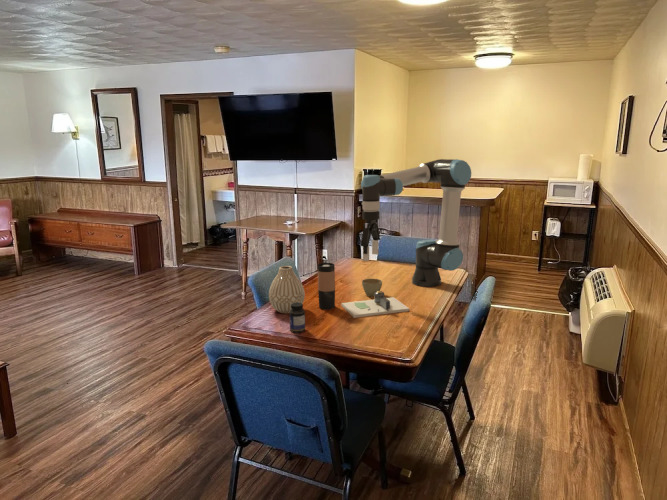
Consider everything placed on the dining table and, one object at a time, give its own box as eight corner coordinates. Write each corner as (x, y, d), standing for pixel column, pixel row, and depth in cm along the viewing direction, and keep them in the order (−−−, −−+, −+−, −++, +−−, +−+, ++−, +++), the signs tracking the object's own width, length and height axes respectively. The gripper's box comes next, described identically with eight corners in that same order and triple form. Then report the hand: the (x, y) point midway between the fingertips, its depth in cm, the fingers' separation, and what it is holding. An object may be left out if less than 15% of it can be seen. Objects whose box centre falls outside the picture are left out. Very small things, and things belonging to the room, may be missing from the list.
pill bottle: (290, 327, 196) (289, 302, 194) (305, 327, 197) (304, 301, 194) (290, 333, 190) (289, 307, 188) (305, 333, 191) (304, 306, 188)
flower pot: (381, 298, 231) (381, 284, 230) (360, 297, 233) (360, 283, 232) (383, 292, 241) (383, 278, 239) (363, 291, 243) (363, 277, 241)
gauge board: (393, 299, 230) (393, 296, 229) (409, 311, 214) (409, 307, 213) (341, 305, 222) (341, 302, 222) (353, 317, 206) (353, 314, 206)
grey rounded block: (372, 301, 222) (373, 290, 221) (381, 300, 223) (381, 289, 222) (383, 309, 210) (383, 298, 209) (392, 308, 212) (392, 297, 210)
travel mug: (337, 305, 222) (337, 263, 218) (332, 310, 215) (331, 267, 211) (322, 303, 225) (321, 262, 221) (316, 309, 218) (315, 266, 214)
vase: (277, 318, 206) (275, 273, 202) (264, 308, 220) (262, 265, 216) (310, 312, 214) (309, 268, 209) (296, 302, 227) (295, 261, 223)
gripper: (371, 206, 225) (371, 251, 230) (353, 213, 203) (353, 262, 207) (386, 207, 223) (386, 252, 227) (370, 214, 200) (370, 264, 205)
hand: (370, 257), depth 217 cm, fingers open, 13 cm apart
